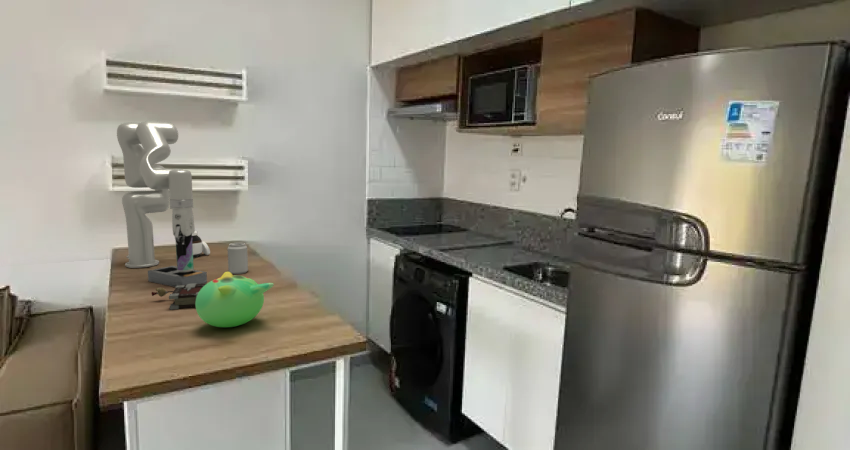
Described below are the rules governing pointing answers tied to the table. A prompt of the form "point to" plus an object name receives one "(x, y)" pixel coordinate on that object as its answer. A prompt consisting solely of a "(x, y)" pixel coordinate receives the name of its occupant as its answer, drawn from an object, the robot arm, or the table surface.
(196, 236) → the spread jar
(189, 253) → the spray can
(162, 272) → the grey rectangular grid frame
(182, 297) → the dark layered knobbed device
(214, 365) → the table surface
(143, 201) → the robot arm
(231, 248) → the can
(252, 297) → the toy bird
